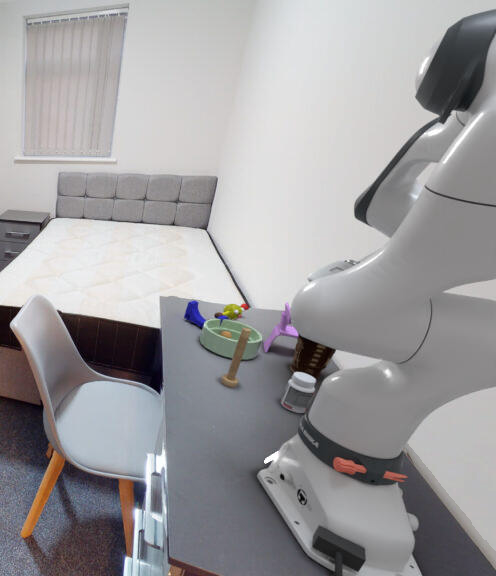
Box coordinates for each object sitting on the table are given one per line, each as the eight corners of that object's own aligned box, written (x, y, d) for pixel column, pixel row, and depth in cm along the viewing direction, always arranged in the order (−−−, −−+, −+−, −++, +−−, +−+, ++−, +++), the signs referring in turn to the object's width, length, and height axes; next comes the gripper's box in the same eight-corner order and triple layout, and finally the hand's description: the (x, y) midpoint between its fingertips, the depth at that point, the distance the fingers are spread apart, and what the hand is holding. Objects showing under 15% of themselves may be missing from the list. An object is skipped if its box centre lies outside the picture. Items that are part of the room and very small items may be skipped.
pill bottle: (310, 415, 84) (323, 384, 81) (286, 412, 85) (299, 381, 81) (298, 401, 88) (310, 372, 85) (276, 398, 89) (287, 369, 86)
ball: (231, 343, 112) (234, 334, 110) (220, 341, 113) (222, 333, 111) (228, 338, 114) (231, 330, 113) (217, 337, 115) (220, 328, 114)
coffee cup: (311, 364, 103) (328, 323, 98) (334, 382, 95) (354, 339, 90) (278, 362, 104) (293, 321, 99) (298, 380, 96) (316, 336, 91)
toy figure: (222, 332, 119) (228, 313, 117) (205, 324, 124) (210, 306, 121) (252, 320, 128) (258, 302, 125) (236, 314, 132) (241, 296, 129)
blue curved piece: (225, 332, 118) (231, 316, 116) (216, 335, 117) (222, 319, 114) (192, 314, 128) (197, 299, 125) (183, 317, 126) (188, 302, 124)
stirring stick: (238, 389, 92) (257, 334, 86) (222, 385, 93) (240, 331, 87) (235, 380, 95) (253, 327, 89) (219, 377, 96) (236, 324, 90)
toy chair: (303, 363, 103) (323, 315, 98) (265, 353, 108) (282, 307, 102) (298, 350, 110) (317, 304, 104) (263, 341, 114) (278, 297, 108)
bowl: (263, 365, 102) (270, 346, 100) (204, 355, 106) (209, 337, 104) (247, 340, 115) (253, 323, 113) (195, 332, 119) (200, 315, 117)
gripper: (340, 248, 88) (281, 283, 93) (417, 279, 69) (338, 320, 74) (354, 267, 89) (294, 300, 94) (433, 302, 70) (354, 341, 75)
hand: (314, 309), depth 84 cm, fingers open, 8 cm apart
